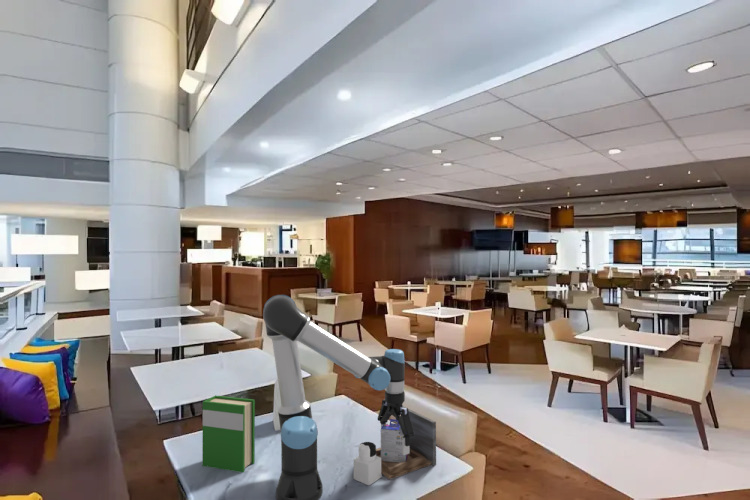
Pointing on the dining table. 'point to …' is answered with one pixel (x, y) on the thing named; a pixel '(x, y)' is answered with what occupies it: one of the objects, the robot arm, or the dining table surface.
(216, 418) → the hardback book
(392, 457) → the ink cartridge box
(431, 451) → the wall dock
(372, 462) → the medicine bottle
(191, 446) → the dining table surface
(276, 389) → the milk
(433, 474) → the dining table surface
